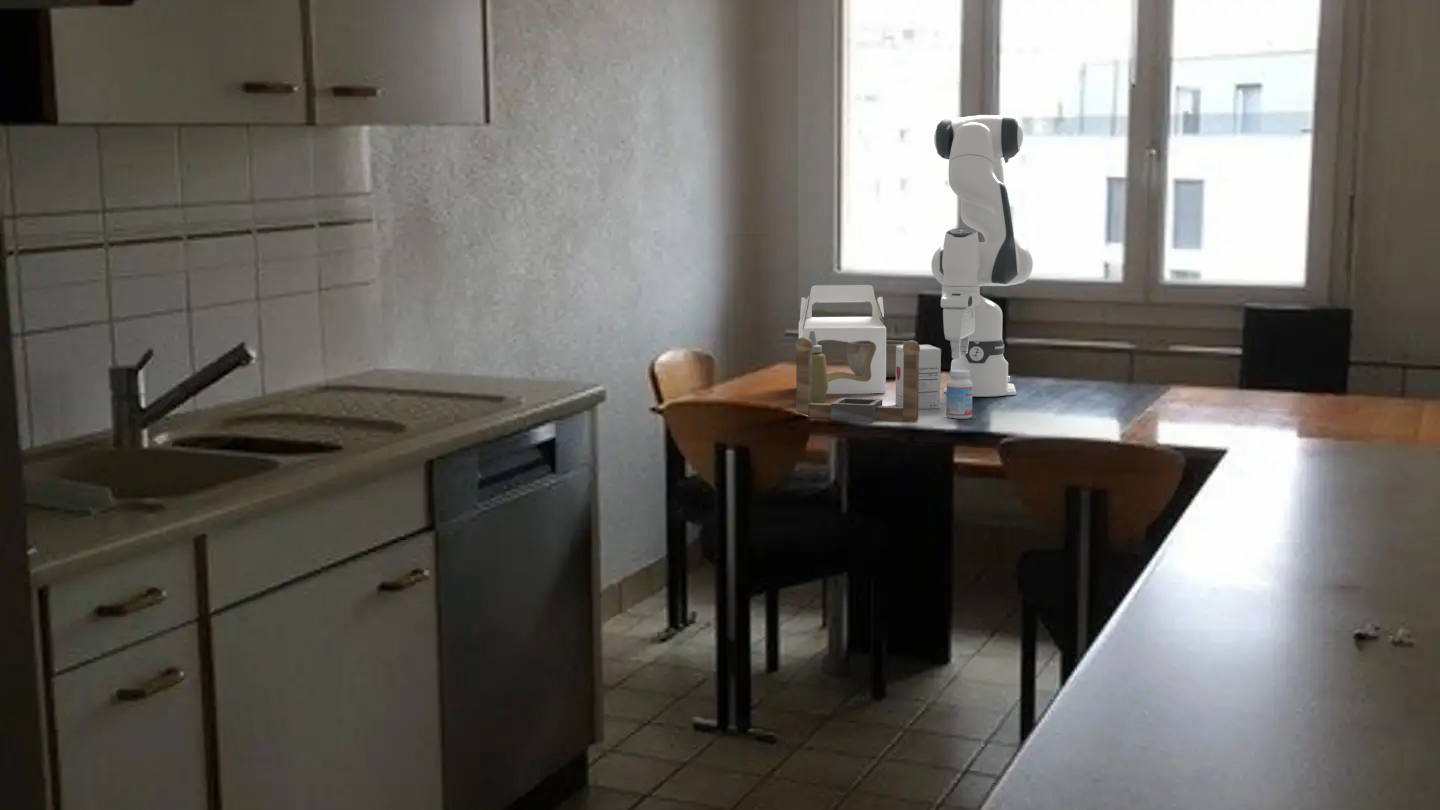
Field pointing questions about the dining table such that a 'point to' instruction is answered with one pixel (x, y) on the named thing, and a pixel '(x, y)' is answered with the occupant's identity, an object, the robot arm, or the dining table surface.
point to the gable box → (849, 335)
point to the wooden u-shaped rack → (857, 406)
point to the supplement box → (922, 376)
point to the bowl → (859, 351)
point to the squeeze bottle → (818, 371)
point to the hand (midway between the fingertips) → (959, 356)
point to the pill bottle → (959, 395)
